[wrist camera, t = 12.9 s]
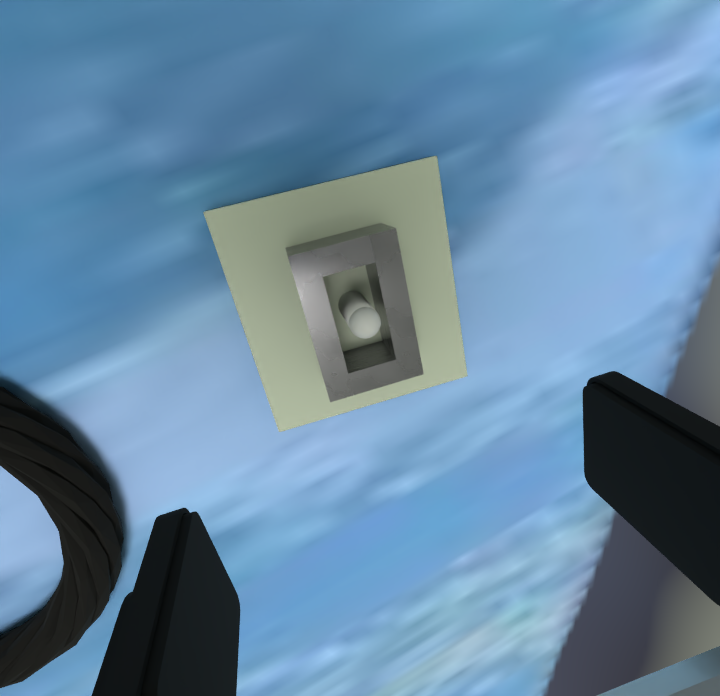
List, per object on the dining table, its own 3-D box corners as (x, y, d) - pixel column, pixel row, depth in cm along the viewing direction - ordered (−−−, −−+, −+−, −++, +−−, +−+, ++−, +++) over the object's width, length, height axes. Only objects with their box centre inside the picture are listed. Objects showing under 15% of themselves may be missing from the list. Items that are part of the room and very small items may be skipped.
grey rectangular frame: (285, 247, 26) (287, 256, 23) (380, 222, 27) (396, 228, 24) (323, 378, 30) (330, 402, 26) (407, 354, 30) (423, 374, 27)
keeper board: (206, 210, 26) (188, 218, 20) (428, 157, 27) (472, 149, 22) (278, 421, 32) (281, 475, 26) (459, 368, 33) (500, 407, 27)
